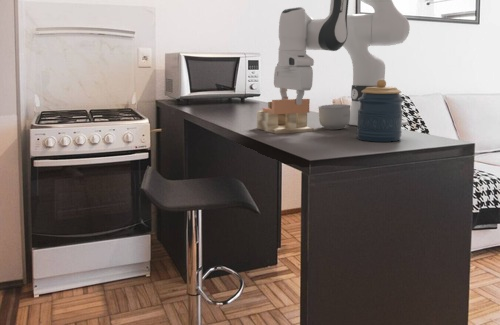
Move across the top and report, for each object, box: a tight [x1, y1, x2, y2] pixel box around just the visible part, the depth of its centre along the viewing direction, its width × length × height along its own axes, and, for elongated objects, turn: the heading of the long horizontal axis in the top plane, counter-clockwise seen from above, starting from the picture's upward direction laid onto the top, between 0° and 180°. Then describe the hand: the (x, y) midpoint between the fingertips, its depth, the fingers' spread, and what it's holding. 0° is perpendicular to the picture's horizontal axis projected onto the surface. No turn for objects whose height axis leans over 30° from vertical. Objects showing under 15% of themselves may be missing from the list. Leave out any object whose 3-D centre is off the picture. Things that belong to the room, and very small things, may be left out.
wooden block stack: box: [256, 101, 314, 134], centre depth 165 cm, size 14×15×9 cm
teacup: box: [317, 103, 351, 130], centre depth 170 cm, size 14×11×8 cm
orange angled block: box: [262, 98, 310, 114], centre depth 164 cm, size 10×13×4 cm
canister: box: [356, 79, 404, 143], centre depth 144 cm, size 13×13×18 cm
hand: (291, 103), depth 160 cm, fingers open, 8 cm apart
